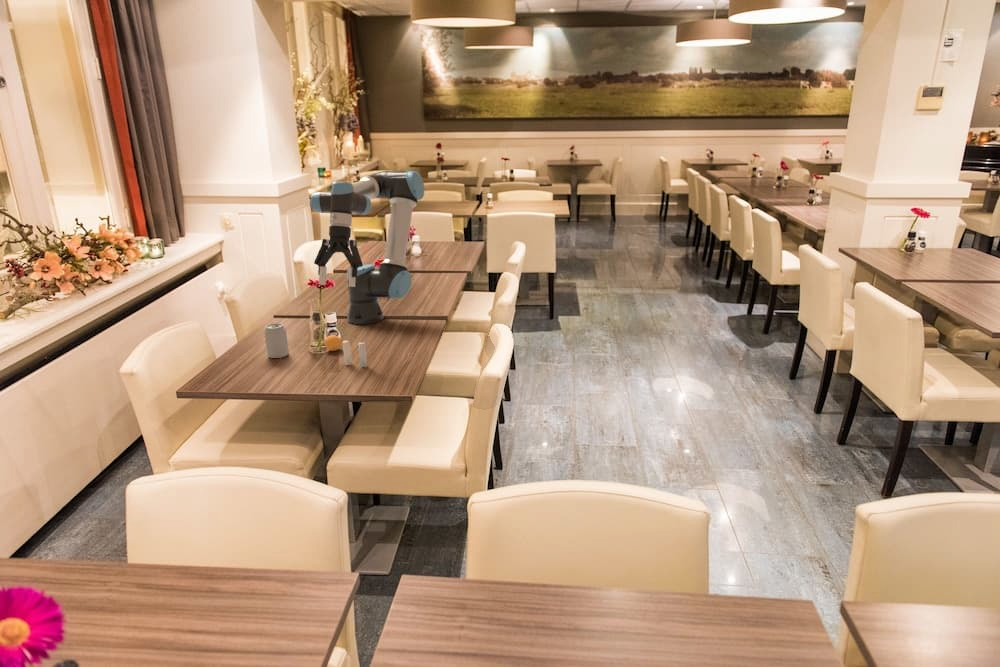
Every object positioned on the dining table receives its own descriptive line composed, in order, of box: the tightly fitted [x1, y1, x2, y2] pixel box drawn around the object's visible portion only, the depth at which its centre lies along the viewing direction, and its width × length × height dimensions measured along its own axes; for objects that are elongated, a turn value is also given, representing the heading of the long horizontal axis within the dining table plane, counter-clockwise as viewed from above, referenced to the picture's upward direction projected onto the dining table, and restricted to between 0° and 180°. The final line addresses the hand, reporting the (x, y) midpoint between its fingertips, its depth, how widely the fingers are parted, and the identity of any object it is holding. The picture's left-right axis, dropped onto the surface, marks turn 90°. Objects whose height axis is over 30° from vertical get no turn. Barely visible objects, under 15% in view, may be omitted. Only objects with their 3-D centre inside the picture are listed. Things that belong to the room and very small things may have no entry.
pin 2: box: [357, 341, 368, 368], centre depth 234 cm, size 2×2×8 cm
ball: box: [324, 334, 342, 352], centre depth 251 cm, size 6×6×6 cm
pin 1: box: [341, 340, 353, 366], centre depth 236 cm, size 2×2×8 cm
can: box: [263, 322, 290, 359], centre depth 246 cm, size 8×8×12 cm
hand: (336, 285), depth 240 cm, fingers open, 13 cm apart
